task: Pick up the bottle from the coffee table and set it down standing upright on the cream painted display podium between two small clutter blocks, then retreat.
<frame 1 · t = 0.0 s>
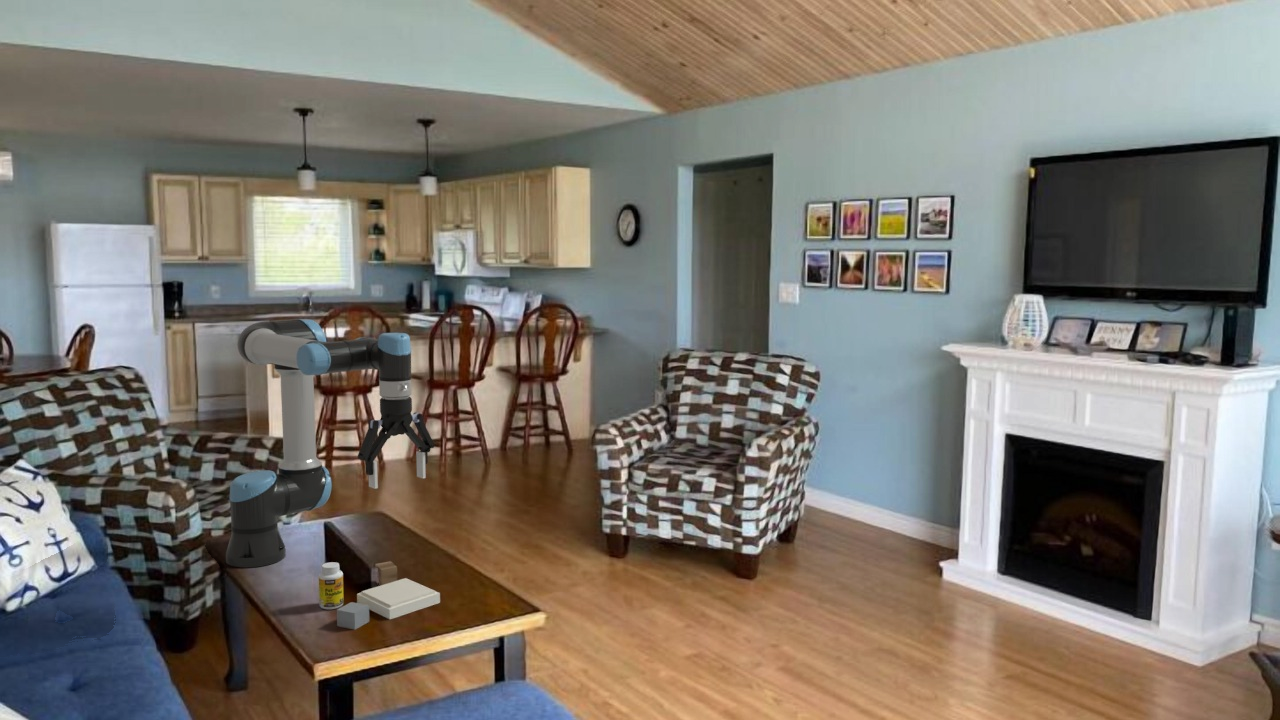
hand: (397, 482, 231), 28 cm above the table, fingers open, 13 cm apart
supplement bottle: (331, 606, 225), on the table
walnut block: (386, 584, 240), on the table
podium: (398, 603, 227), on the table
grey matte cube: (353, 624, 215), on the table
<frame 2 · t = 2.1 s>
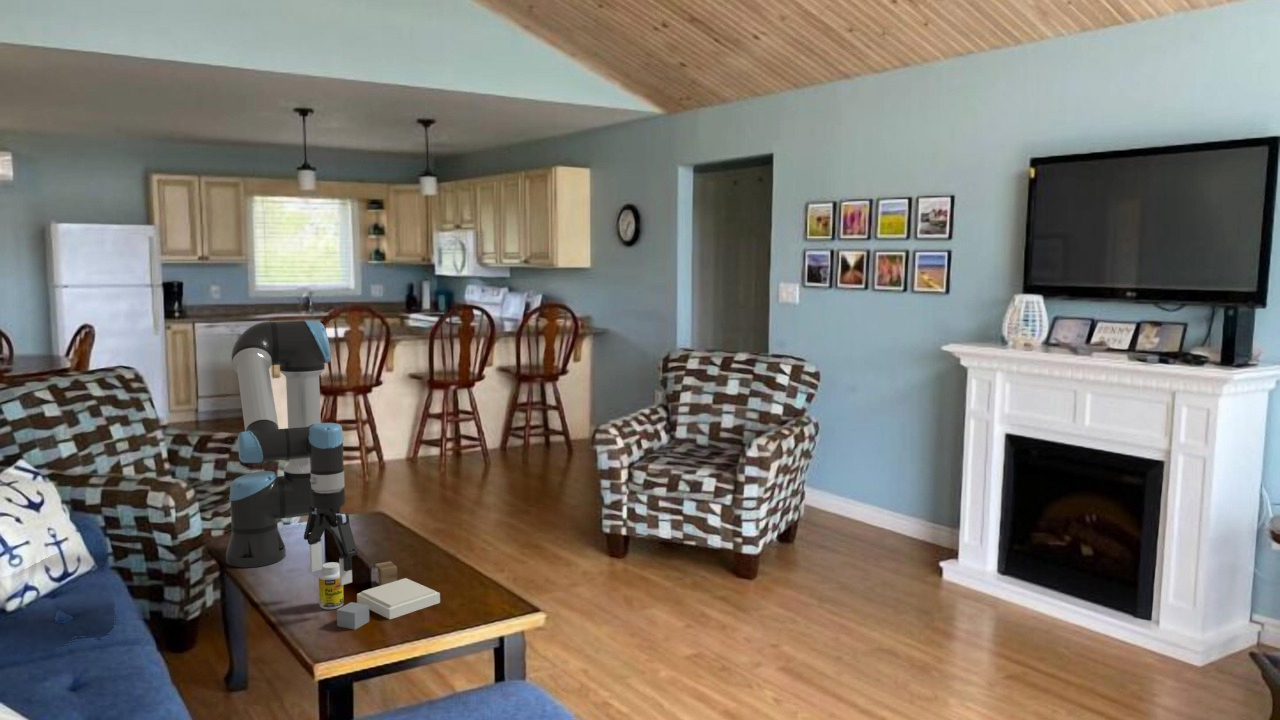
hand: (331, 576, 224), 7 cm above the table, fingers open, 13 cm apart
nothing on the table moved.
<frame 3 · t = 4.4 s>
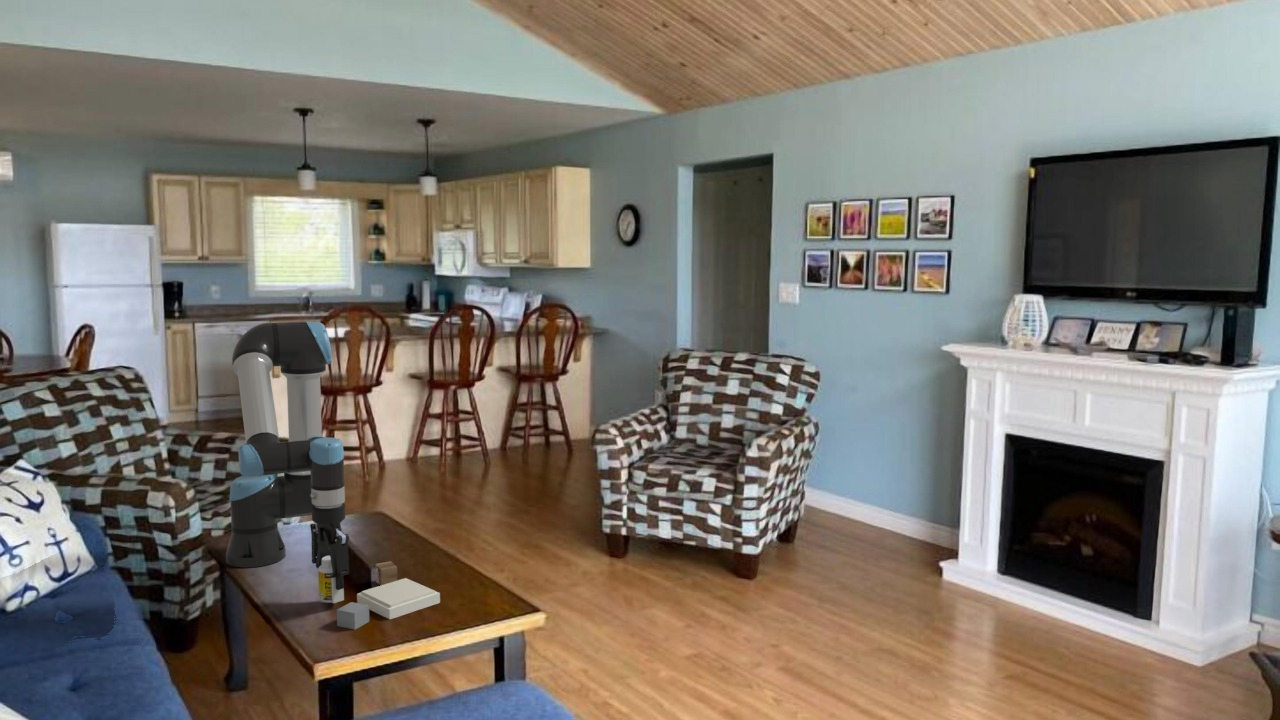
hand: (331, 597, 226), 2 cm above the table, fingers closed on supplement bottle, 5 cm apart
supplement bottle: (331, 599, 226), point 1 cm above the table, touching gripper
everything else where it was.
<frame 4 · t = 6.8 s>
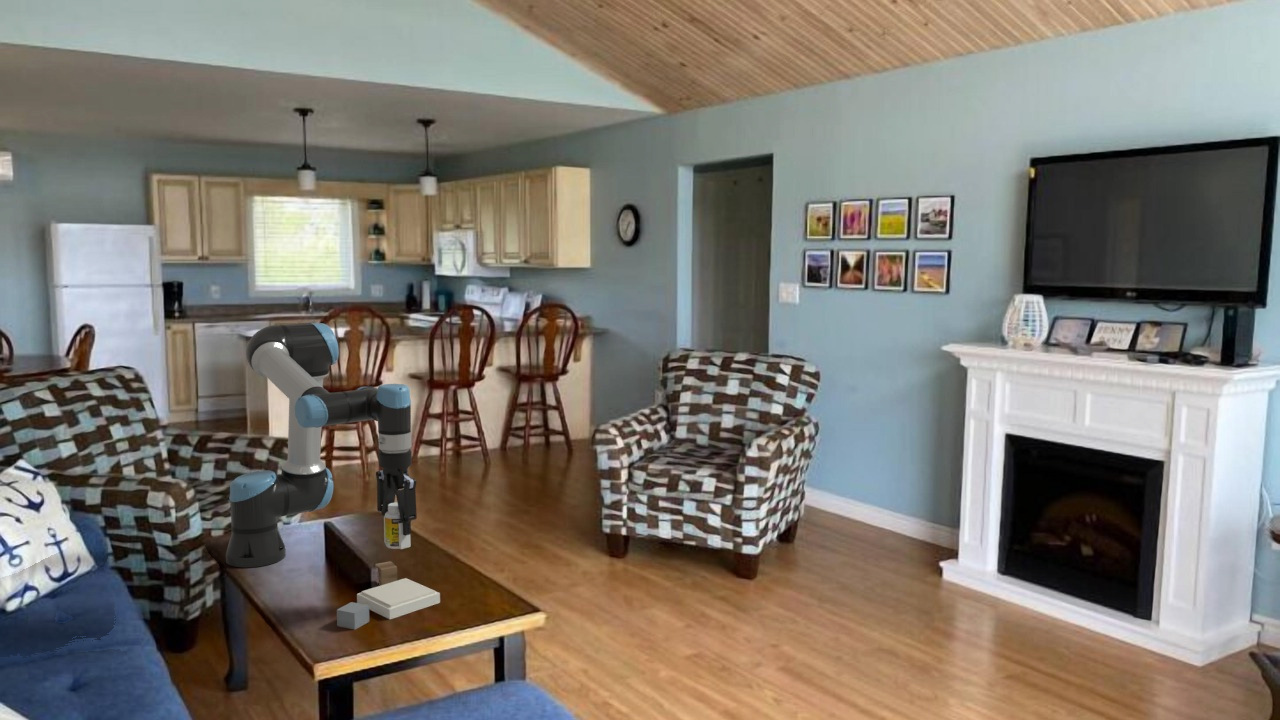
hand: (397, 544, 226), 15 cm above the table, fingers closed on supplement bottle, 5 cm apart
supplement bottle: (397, 546, 226), point 14 cm above the table, touching gripper
everything else where it was.
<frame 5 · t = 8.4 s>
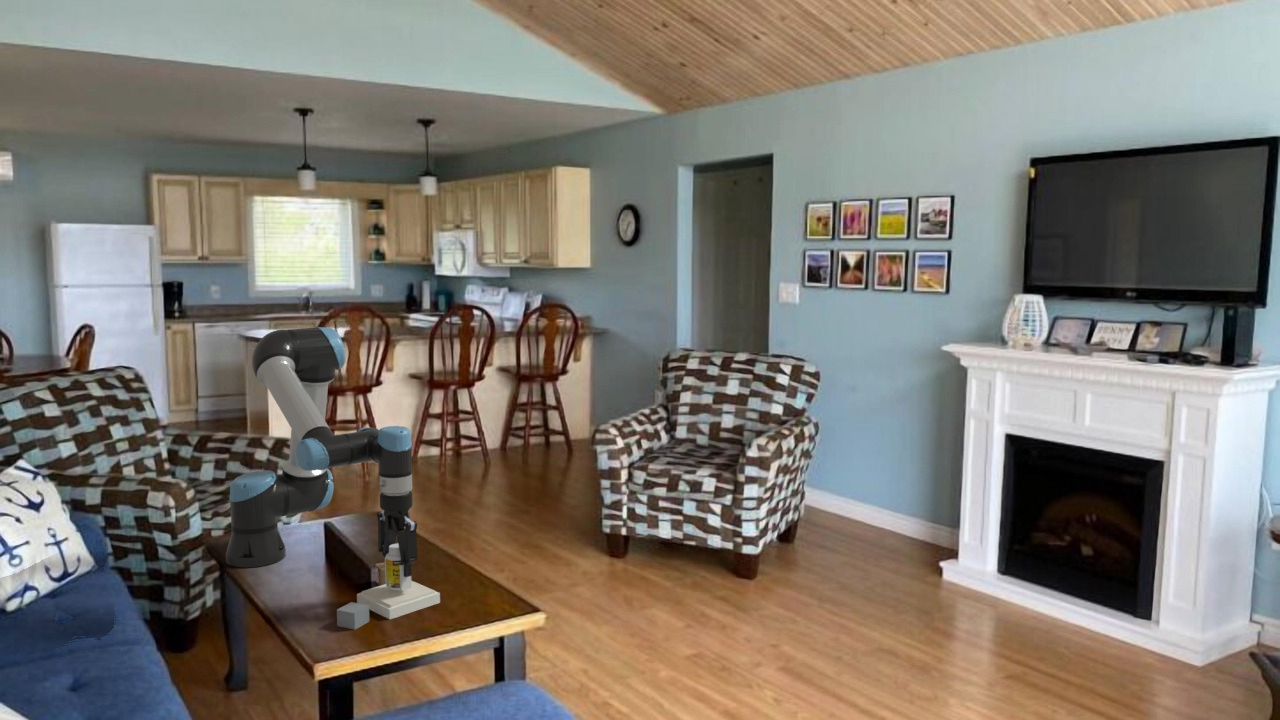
hand: (398, 585, 227), 4 cm above the table, fingers closed on supplement bottle, 5 cm apart
supplement bottle: (398, 587, 227), point 4 cm above the table, touching gripper
everything else where it was.
when the fingers open (4 cm above the table, at t = 9.3 s): supplement bottle stays where it is, resting on podium.
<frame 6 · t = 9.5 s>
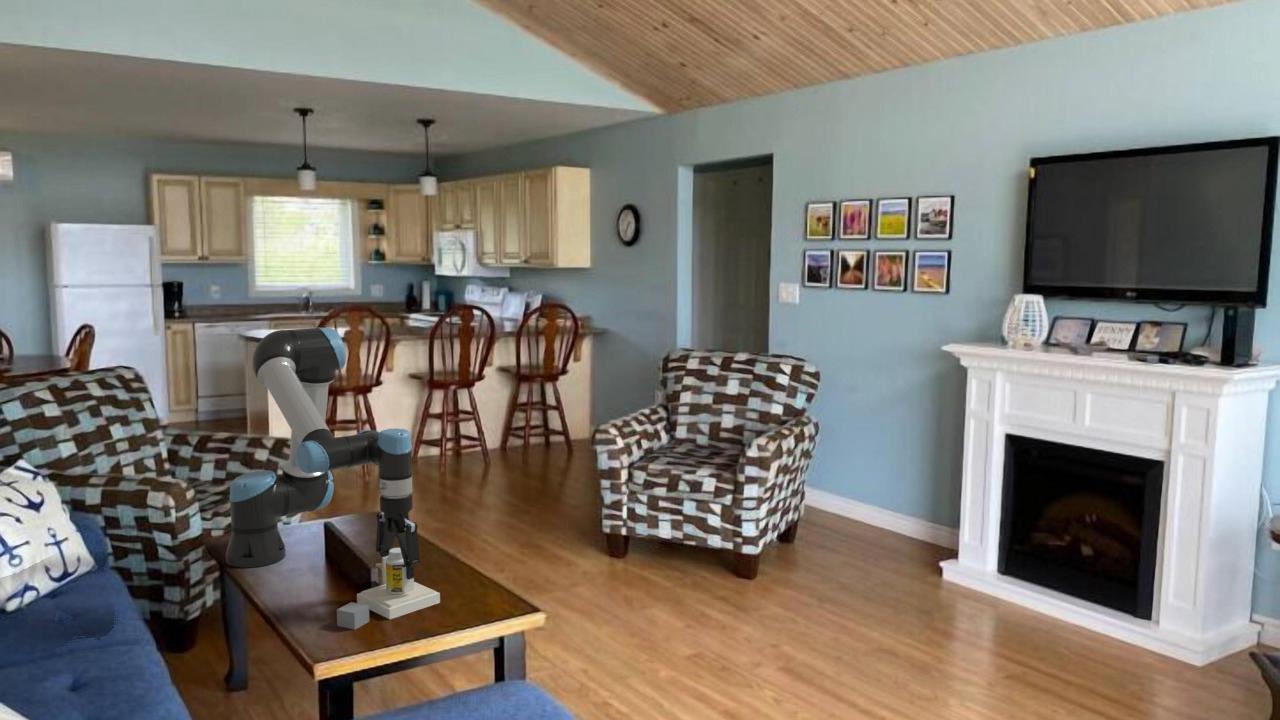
hand: (398, 586, 227), 4 cm above the table, fingers open, 8 cm apart
supplement bottle: (398, 591, 227), point 3 cm above the table, touching podium
everything else where it was.
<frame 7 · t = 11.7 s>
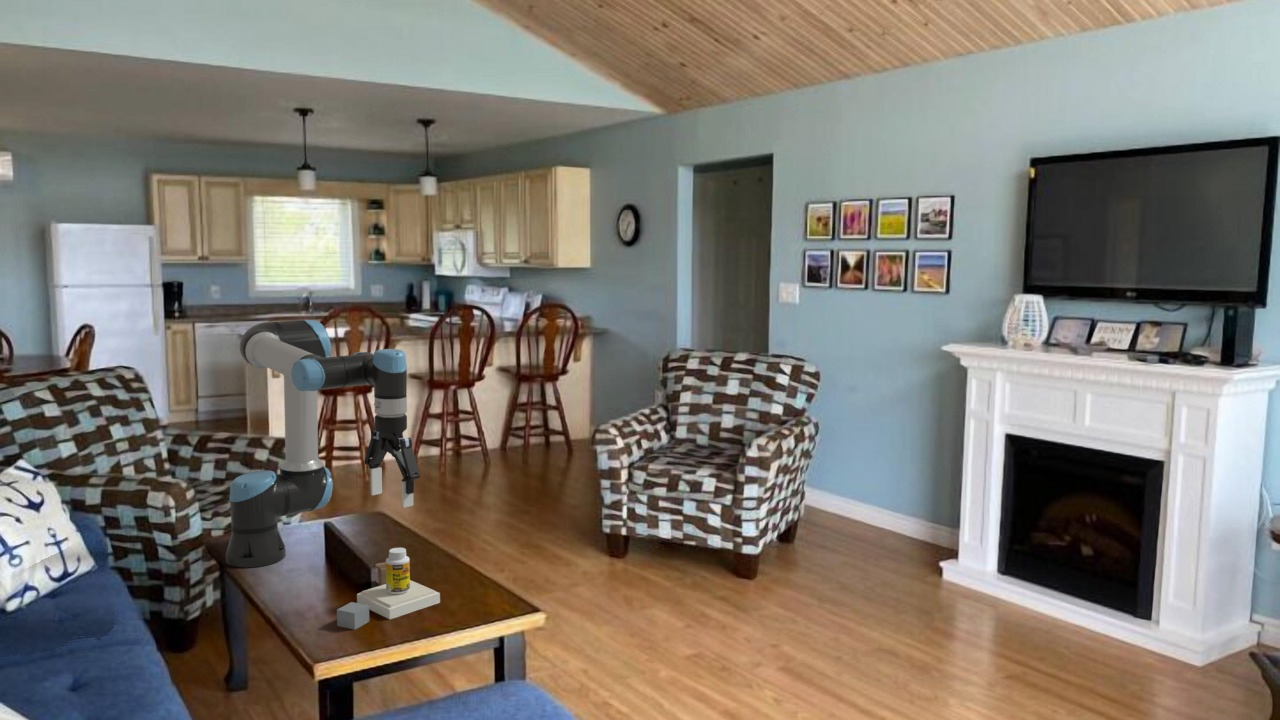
hand: (391, 500, 228), 24 cm above the table, fingers open, 13 cm apart
nothing on the table moved.
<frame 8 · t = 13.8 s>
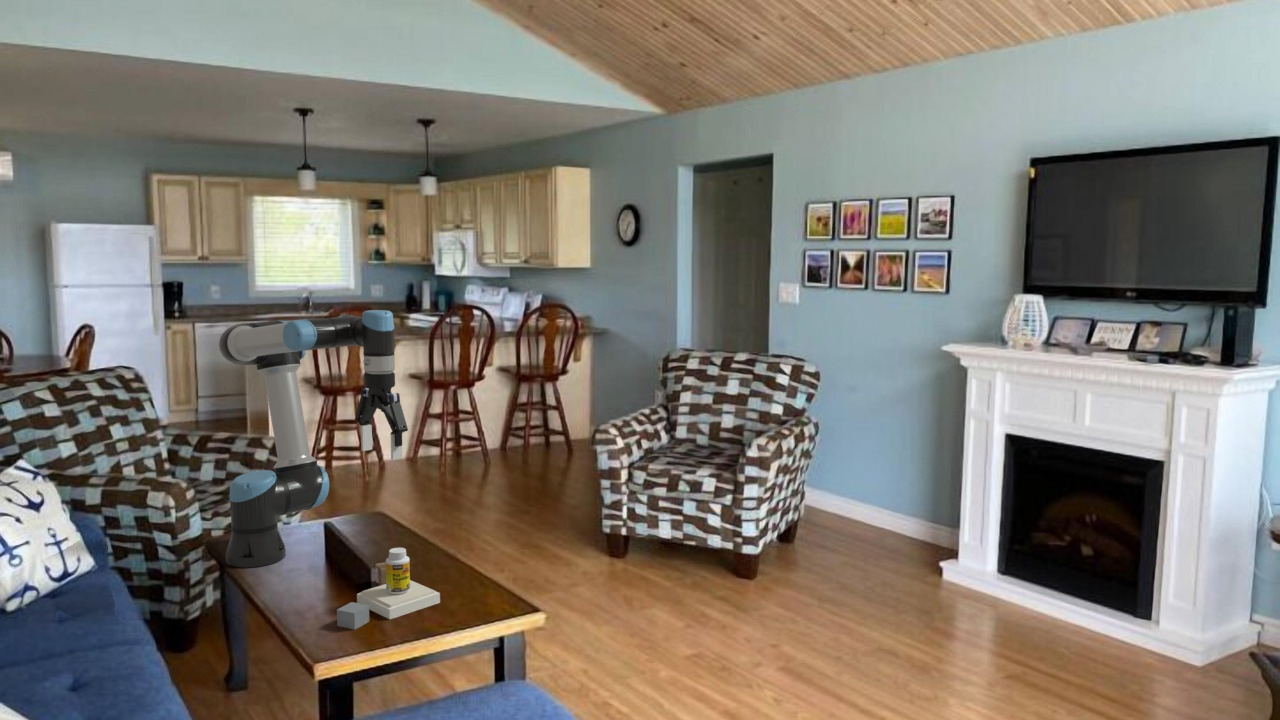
hand: (381, 454, 240), 33 cm above the table, fingers open, 13 cm apart
nothing on the table moved.
at the end: supplement bottle inside the target area on the podium (0.1 cm from its centre), point 2.8 cm above the podium's base; supplement bottle tilted 0°; the gripper is holding nothing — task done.
